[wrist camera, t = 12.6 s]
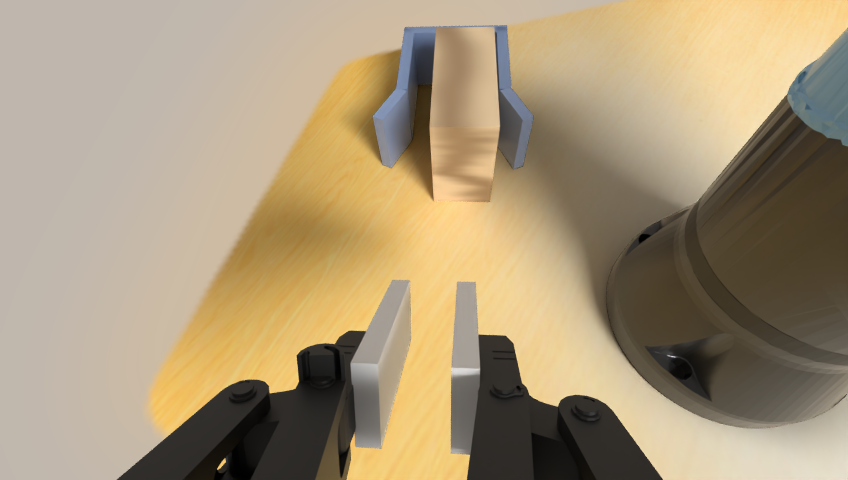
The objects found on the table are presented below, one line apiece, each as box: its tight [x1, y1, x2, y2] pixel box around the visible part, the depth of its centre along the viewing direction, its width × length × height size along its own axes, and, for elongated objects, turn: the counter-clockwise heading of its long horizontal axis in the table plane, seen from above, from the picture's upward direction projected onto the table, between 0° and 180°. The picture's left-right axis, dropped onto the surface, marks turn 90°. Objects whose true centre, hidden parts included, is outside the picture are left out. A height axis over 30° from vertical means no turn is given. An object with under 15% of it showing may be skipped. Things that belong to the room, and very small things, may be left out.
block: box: [430, 27, 500, 202], centre depth 37 cm, size 5×12×9 cm, turn 177°
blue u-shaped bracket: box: [373, 25, 534, 169], centre depth 40 cm, size 13×13×6 cm
